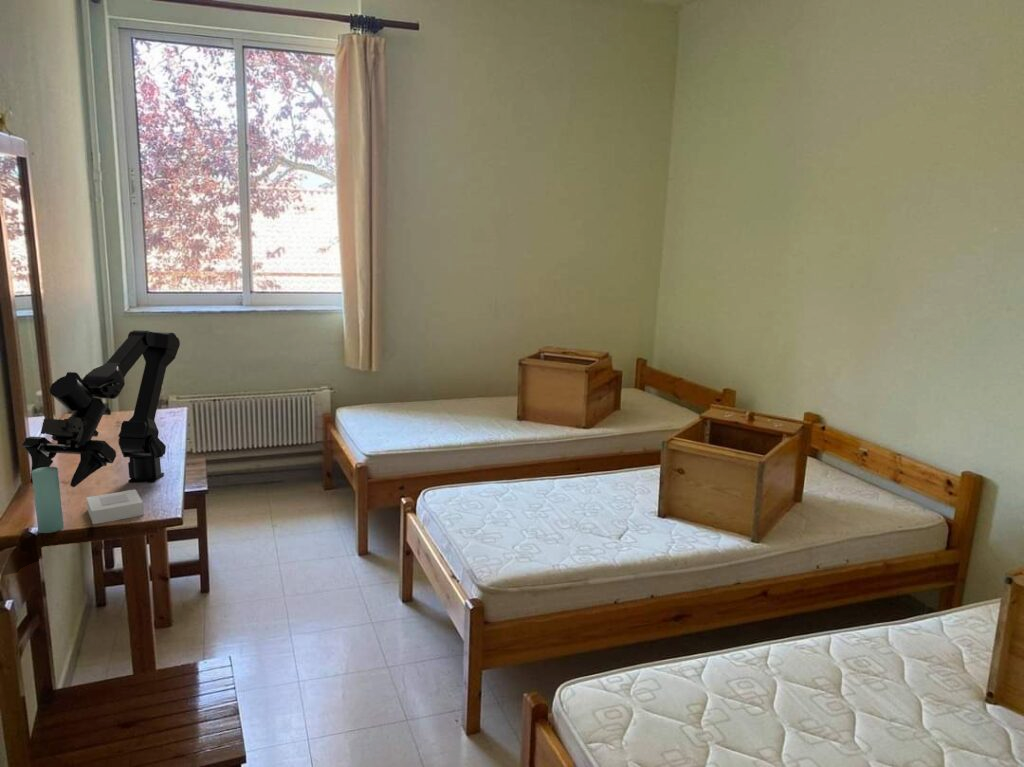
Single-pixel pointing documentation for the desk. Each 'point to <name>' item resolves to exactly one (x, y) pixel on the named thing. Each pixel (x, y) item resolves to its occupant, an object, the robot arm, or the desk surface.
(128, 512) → the plinth
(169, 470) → the desk surface
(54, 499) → the pillar
